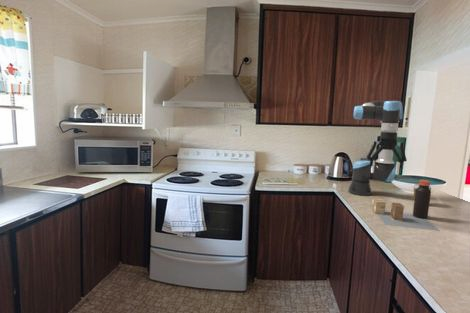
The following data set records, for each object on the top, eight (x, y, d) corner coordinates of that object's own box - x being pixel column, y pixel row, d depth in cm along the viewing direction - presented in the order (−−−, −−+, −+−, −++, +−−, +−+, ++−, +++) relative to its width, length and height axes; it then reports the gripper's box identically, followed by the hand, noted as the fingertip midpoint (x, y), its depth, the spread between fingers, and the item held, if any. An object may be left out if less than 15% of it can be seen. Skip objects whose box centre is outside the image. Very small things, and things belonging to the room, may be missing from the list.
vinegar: (430, 218, 147) (435, 182, 144) (420, 219, 145) (425, 182, 142) (418, 214, 154) (423, 179, 151) (409, 215, 152) (414, 179, 149)
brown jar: (413, 200, 181) (415, 183, 179) (430, 204, 174) (433, 186, 172) (409, 203, 174) (411, 185, 172) (427, 207, 167) (429, 188, 166)
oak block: (371, 210, 157) (372, 198, 156) (380, 211, 157) (381, 199, 156) (375, 213, 152) (376, 201, 151) (384, 214, 152) (385, 202, 151)
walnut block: (390, 216, 148) (391, 202, 147) (398, 217, 147) (400, 203, 146) (393, 220, 143) (395, 205, 142) (402, 221, 142) (404, 206, 141)
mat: (374, 211, 158) (374, 210, 158) (421, 216, 152) (421, 215, 152) (385, 225, 137) (385, 224, 136) (440, 231, 131) (440, 230, 131)
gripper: (365, 130, 140) (361, 173, 143) (417, 133, 134) (412, 176, 137) (362, 130, 147) (358, 170, 150) (412, 132, 141) (406, 173, 144)
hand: (384, 173), depth 144 cm, fingers open, 11 cm apart
